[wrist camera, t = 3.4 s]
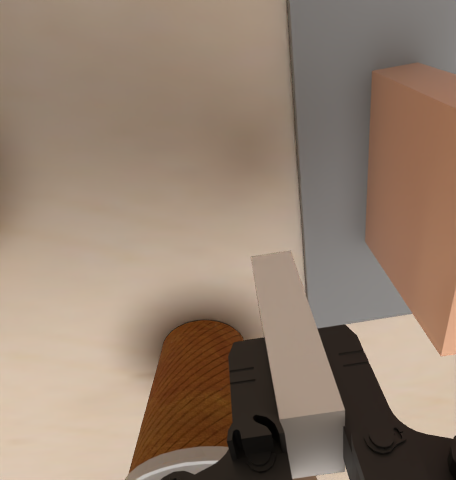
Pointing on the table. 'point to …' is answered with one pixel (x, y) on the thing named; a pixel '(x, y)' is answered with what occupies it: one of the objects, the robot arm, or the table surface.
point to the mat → (350, 137)
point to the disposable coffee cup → (187, 403)
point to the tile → (415, 192)
